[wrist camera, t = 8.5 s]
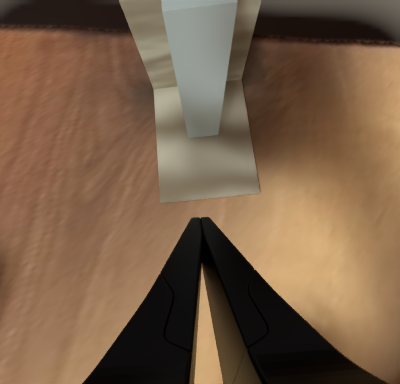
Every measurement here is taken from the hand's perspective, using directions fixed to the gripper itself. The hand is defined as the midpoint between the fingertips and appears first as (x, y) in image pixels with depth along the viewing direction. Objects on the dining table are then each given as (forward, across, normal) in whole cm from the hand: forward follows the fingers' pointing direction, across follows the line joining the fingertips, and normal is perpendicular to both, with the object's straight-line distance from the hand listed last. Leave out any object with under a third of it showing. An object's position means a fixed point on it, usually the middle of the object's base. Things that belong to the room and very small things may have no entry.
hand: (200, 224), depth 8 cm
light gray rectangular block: (+16, -1, -4) cm, 16 cm away
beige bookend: (+14, -1, -1) cm, 15 cm away
